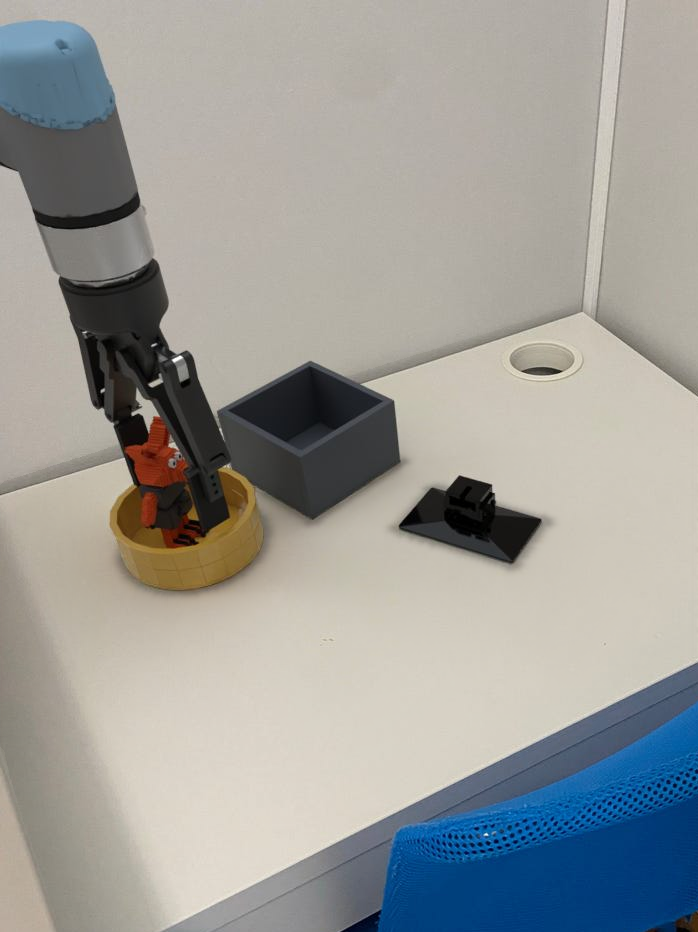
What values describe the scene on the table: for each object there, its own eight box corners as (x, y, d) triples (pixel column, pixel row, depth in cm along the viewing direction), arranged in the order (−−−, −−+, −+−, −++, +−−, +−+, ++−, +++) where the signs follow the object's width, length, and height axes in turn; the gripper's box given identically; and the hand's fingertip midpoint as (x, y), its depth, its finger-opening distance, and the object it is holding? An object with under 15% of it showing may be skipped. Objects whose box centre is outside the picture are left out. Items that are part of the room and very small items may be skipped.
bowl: (96, 549, 91) (80, 512, 87) (207, 484, 98) (196, 448, 94) (180, 610, 84) (166, 573, 81) (292, 536, 91) (284, 500, 88)
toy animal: (200, 570, 88) (166, 465, 79) (148, 562, 89) (109, 456, 80) (236, 518, 93) (208, 413, 84) (187, 510, 94) (154, 406, 85)
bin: (232, 472, 99) (216, 410, 94) (320, 420, 105) (310, 360, 100) (312, 520, 93) (300, 457, 88) (400, 462, 100) (394, 400, 94)
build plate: (397, 530, 92) (393, 491, 89) (433, 489, 96) (430, 451, 93) (512, 564, 88) (512, 525, 84) (543, 520, 92) (544, 481, 89)
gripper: (239, 290, 68) (290, 529, 84) (69, 213, 78) (144, 439, 94) (153, 329, 64) (224, 572, 80) (-14, 244, 74) (79, 474, 91)
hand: (181, 500), depth 87 cm, fingers open, 10 cm apart
